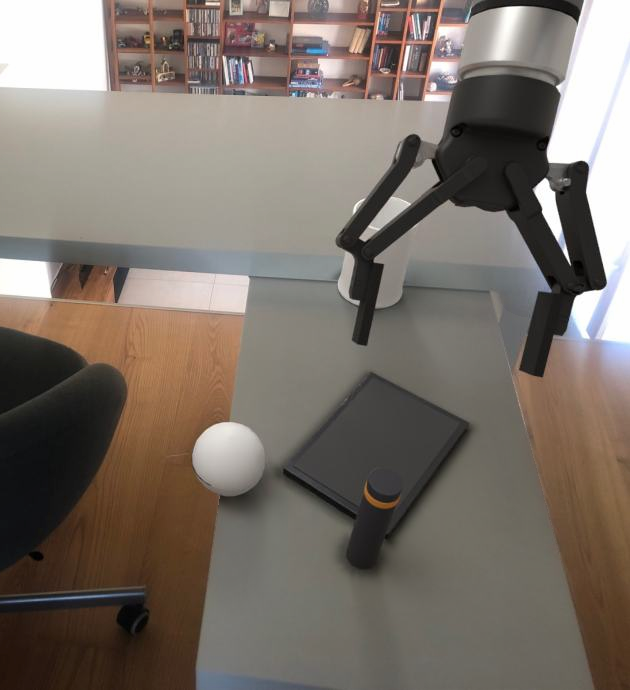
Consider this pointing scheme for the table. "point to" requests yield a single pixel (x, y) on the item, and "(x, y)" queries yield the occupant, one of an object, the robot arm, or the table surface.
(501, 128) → the robot arm
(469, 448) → the table surface
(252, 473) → the white sphere
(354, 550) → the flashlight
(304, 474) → the tablet
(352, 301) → the mug
